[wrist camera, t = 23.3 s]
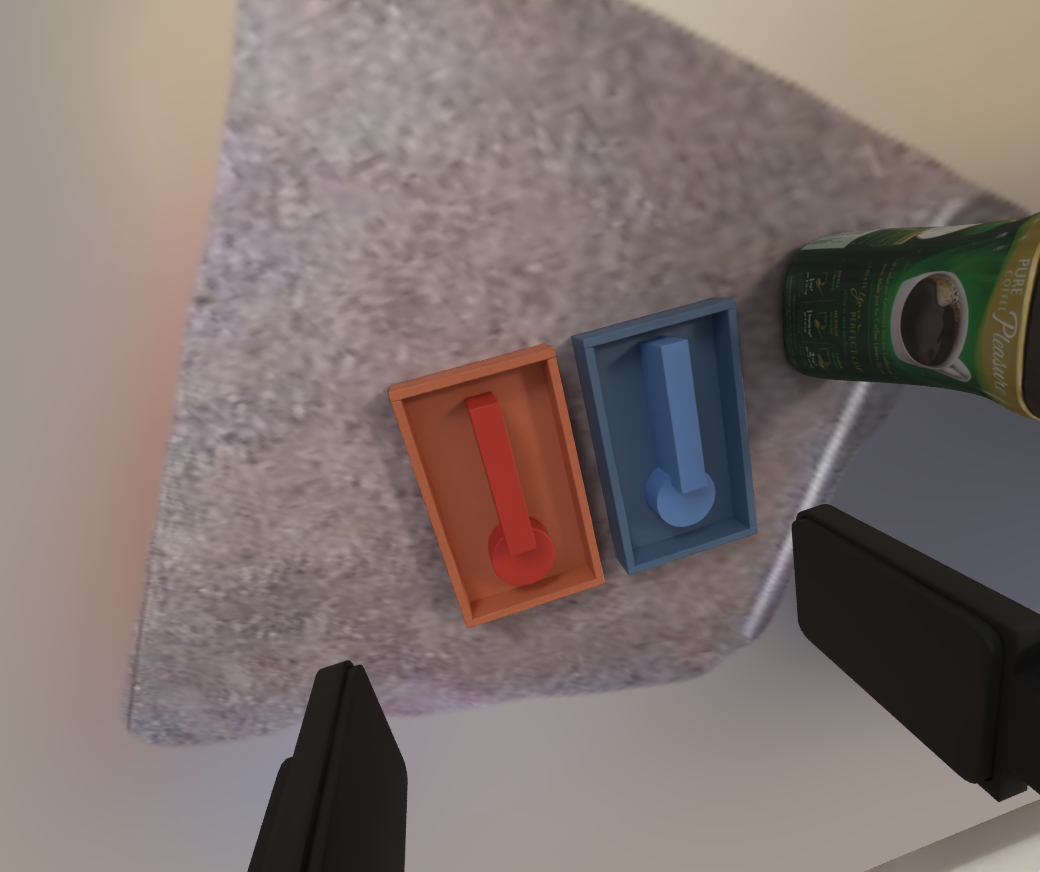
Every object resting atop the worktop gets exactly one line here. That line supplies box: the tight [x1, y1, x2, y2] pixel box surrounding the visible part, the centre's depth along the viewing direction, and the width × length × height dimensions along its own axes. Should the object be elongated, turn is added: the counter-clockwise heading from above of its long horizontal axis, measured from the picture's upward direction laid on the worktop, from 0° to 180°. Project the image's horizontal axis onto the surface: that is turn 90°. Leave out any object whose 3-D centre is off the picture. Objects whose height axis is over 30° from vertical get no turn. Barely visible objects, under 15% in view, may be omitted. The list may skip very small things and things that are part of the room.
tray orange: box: [388, 344, 605, 628], centre depth 33 cm, size 17×10×2 cm, turn 14°
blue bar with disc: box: [638, 335, 715, 527], centre depth 33 cm, size 13×4×3 cm, turn 14°
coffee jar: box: [782, 212, 1040, 421], centre depth 26 cm, size 10×8×19 cm
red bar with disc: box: [465, 391, 555, 586], centre depth 32 cm, size 13×4×3 cm, turn 13°
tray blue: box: [571, 298, 758, 575], centre depth 34 cm, size 17×10×2 cm, turn 14°
